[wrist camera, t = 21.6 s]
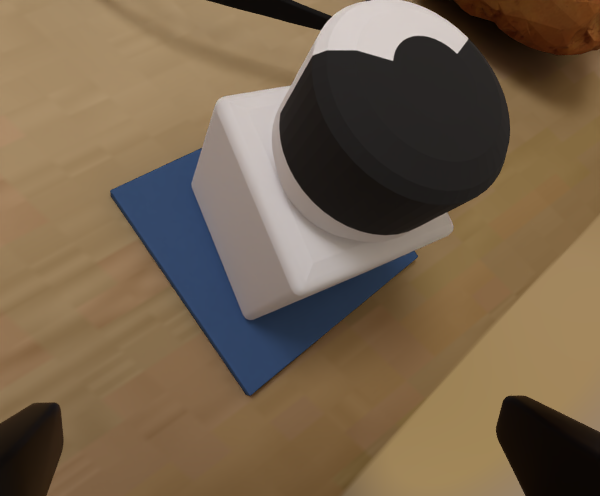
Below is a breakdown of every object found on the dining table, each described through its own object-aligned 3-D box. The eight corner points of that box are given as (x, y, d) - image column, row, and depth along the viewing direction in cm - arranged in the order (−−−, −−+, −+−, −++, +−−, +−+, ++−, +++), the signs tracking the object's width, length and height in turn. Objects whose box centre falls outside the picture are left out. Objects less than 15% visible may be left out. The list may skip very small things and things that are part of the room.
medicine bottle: (366, 271, 22) (586, 174, 11) (244, 323, 19) (386, 257, 8) (313, 152, 23) (470, -43, 12) (187, 183, 20) (251, -39, 9)
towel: (412, 259, 24) (419, 256, 24) (246, 395, 19) (249, 396, 18) (304, 104, 24) (308, 97, 24) (109, 195, 19) (109, 190, 19)
